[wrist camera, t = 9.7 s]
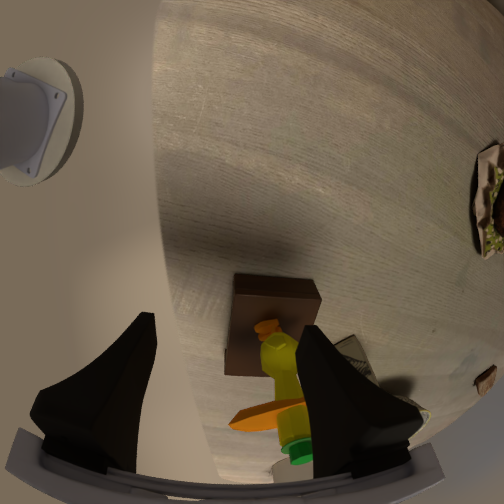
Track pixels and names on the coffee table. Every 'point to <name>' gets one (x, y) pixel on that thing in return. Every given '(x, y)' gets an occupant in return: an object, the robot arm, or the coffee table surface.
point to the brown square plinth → (266, 317)
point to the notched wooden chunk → (486, 381)
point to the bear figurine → (490, 200)
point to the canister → (291, 471)
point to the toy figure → (280, 396)
